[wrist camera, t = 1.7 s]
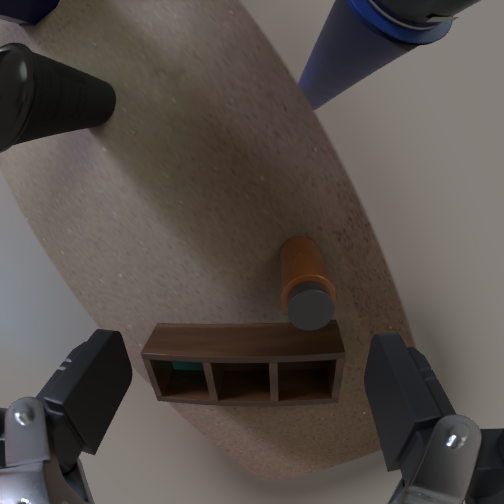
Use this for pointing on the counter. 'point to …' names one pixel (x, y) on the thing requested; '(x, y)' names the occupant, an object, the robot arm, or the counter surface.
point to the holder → (245, 364)
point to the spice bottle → (306, 284)
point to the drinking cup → (47, 97)
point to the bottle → (26, 10)
